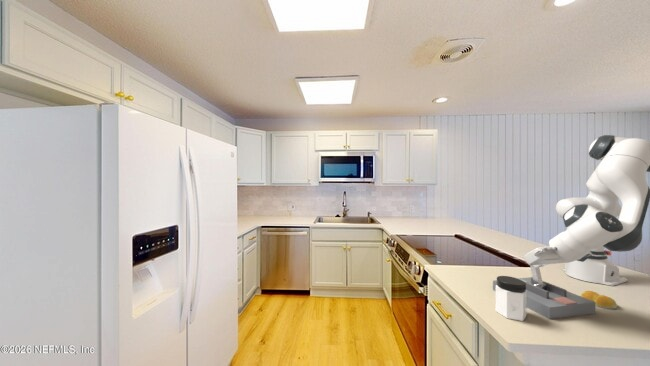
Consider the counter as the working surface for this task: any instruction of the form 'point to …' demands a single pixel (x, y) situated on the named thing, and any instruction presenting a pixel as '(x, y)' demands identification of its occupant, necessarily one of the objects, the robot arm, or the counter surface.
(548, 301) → the switch panel
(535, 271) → the breaker lever
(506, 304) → the jar
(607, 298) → the bread roll
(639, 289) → the counter surface
